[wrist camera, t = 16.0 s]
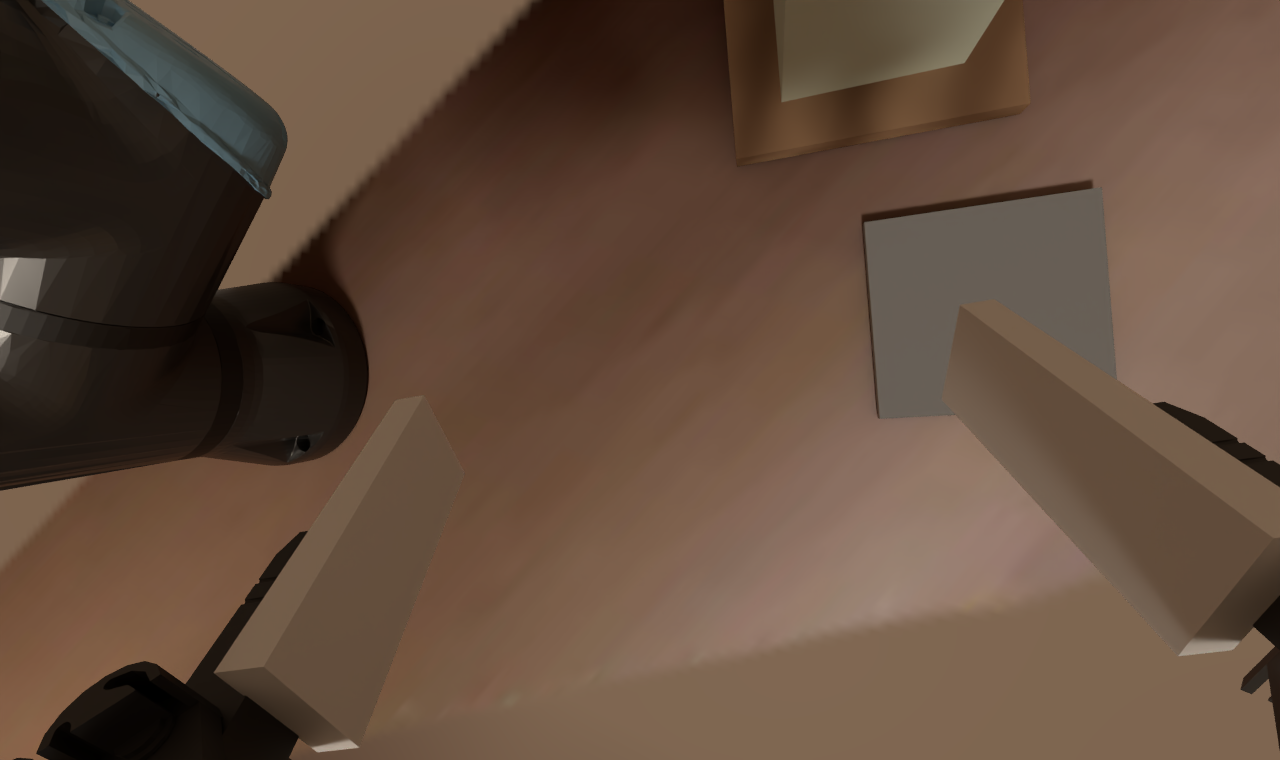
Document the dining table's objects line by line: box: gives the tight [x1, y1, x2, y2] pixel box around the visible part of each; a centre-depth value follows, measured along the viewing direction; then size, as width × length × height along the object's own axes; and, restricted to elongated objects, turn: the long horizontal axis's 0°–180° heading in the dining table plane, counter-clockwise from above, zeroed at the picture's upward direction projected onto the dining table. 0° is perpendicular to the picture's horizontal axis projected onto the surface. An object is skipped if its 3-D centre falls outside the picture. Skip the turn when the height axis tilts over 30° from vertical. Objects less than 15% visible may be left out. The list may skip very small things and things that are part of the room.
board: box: [724, 0, 1030, 167], centre depth 30 cm, size 16×16×1 cm
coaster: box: [863, 187, 1117, 419], centre depth 29 cm, size 12×12×1 cm
